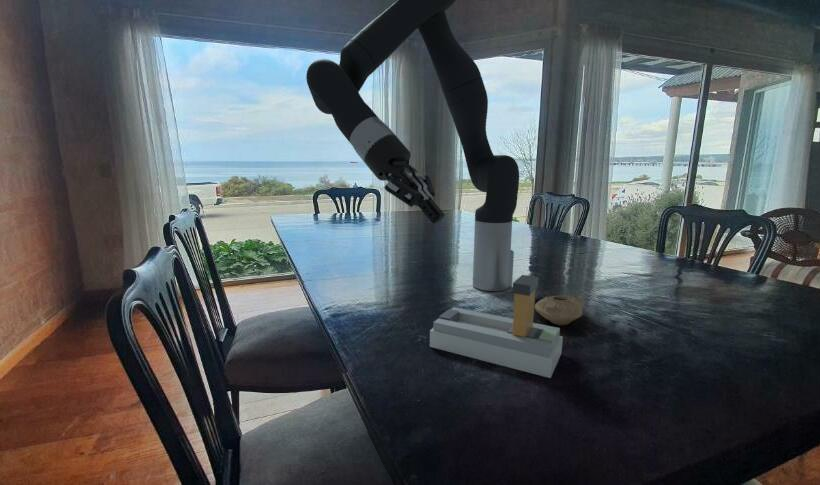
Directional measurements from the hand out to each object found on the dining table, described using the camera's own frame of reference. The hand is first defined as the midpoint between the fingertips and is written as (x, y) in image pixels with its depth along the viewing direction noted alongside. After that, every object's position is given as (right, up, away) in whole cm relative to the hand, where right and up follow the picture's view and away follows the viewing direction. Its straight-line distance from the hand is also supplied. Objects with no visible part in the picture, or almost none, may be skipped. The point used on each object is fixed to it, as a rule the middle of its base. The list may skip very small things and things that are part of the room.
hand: (439, 219), depth 67 cm
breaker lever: (+13, -19, -4) cm, 24 cm away
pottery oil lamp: (+26, -20, +12) cm, 35 cm away
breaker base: (+9, -22, -1) cm, 24 cm away
